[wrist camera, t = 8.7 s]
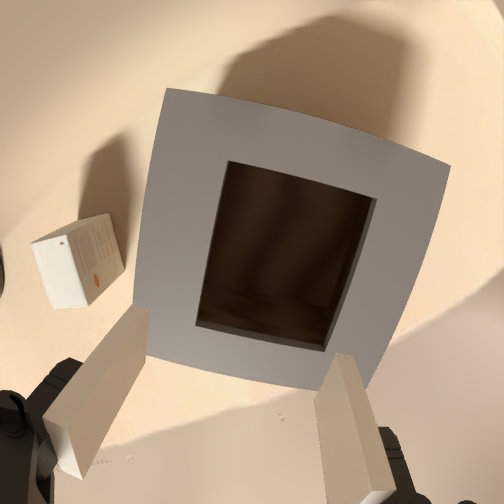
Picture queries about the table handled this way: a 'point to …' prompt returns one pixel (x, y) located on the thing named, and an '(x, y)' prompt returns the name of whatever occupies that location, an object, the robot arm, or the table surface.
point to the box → (278, 239)
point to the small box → (78, 261)
